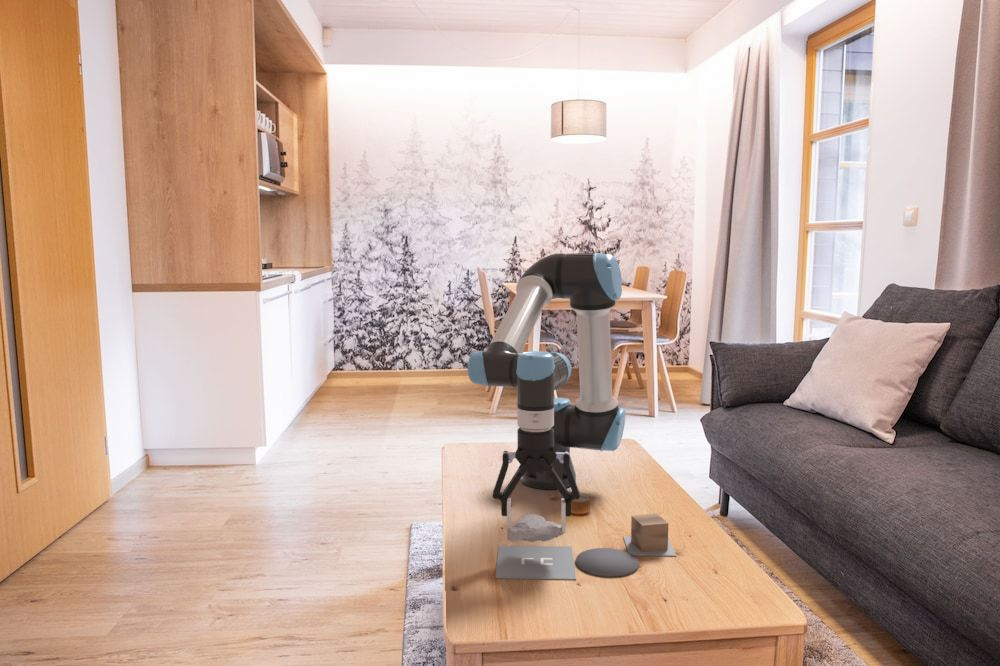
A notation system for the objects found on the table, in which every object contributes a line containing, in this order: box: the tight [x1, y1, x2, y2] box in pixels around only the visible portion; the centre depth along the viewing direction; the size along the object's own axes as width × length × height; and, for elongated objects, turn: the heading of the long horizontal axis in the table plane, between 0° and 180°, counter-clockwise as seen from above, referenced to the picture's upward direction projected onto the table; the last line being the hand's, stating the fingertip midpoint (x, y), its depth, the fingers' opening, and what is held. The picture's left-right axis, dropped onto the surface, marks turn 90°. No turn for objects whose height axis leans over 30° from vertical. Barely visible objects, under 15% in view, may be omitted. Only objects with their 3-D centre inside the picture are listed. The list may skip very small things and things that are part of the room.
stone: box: [506, 512, 565, 543], centre depth 154 cm, size 10×12×4 cm
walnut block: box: [630, 513, 669, 552], centre depth 162 cm, size 6×6×6 cm
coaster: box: [575, 547, 640, 578], centre depth 154 cm, size 13×13×1 cm
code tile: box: [494, 544, 577, 581], centre depth 154 cm, size 16×16×1 cm
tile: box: [623, 536, 677, 557], centre depth 162 cm, size 10×10×1 cm
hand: (536, 530), depth 154 cm, fingers closed on stone, 11 cm apart
